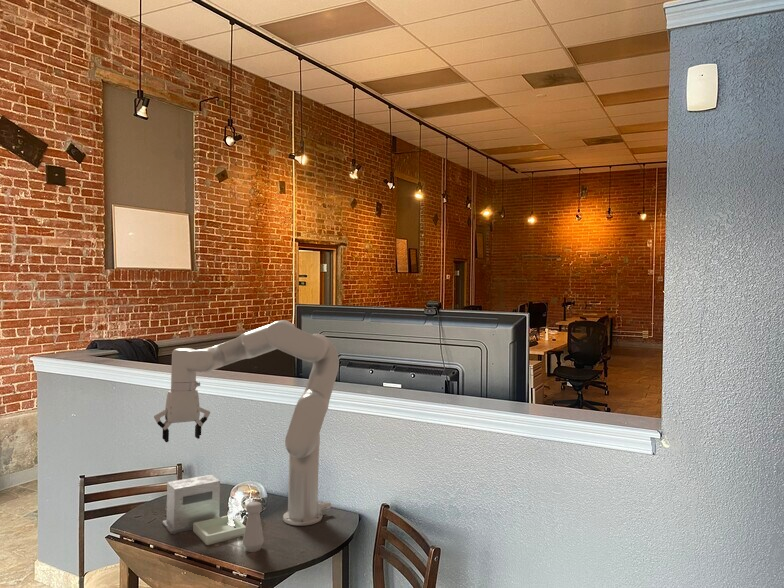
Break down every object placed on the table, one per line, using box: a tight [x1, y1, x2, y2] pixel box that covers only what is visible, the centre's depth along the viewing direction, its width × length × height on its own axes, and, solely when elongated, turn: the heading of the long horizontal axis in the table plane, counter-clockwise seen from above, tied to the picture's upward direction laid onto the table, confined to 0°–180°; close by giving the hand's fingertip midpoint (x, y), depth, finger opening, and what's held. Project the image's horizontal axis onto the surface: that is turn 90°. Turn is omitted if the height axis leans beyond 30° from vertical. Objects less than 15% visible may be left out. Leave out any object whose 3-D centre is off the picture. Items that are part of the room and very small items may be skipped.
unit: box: [161, 474, 221, 535], centre depth 178 cm, size 16×10×13 cm, turn 127°
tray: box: [192, 514, 246, 546], centre depth 170 cm, size 12×12×2 cm
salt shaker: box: [242, 501, 265, 553], centre depth 160 cm, size 6×6×13 cm
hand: (182, 439), depth 182 cm, fingers open, 9 cm apart
